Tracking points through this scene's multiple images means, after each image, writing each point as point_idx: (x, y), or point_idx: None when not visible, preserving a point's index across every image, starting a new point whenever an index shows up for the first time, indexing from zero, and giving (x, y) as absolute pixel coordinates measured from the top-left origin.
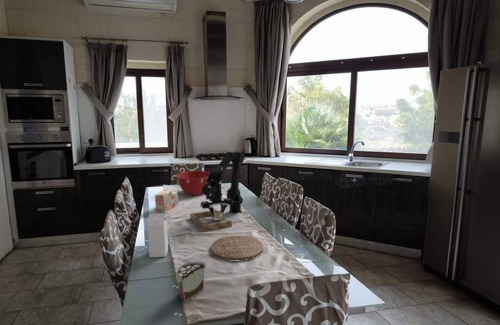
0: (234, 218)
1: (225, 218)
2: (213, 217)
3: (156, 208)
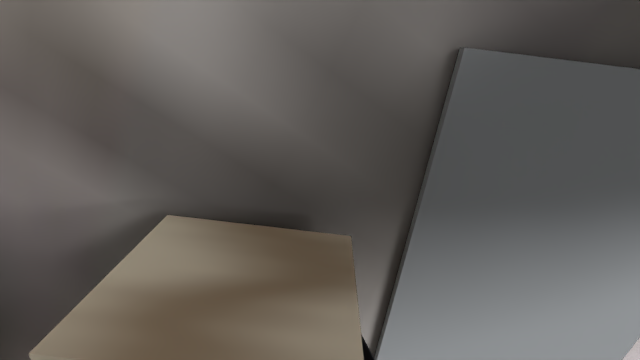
0: (546, 343)
1: (435, 272)
2: None
3: None
